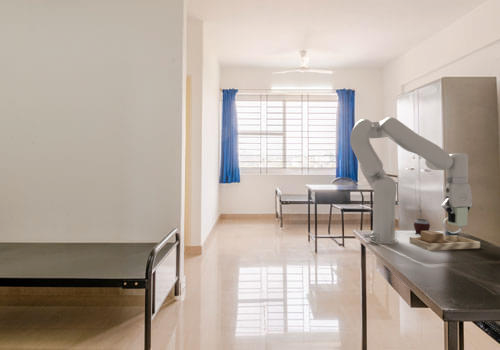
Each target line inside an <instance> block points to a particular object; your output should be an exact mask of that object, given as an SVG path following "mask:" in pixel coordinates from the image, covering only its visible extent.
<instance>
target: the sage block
mask: <svg viewBox="0 0 500 350" xmlns="http://www.w3.org/2000/svg"><path fill="white" fill-rule="evenodd" d="M451 209H452V208H451ZM468 213H469V210H468V207H455V211H454V214H455V223H453V222H449V221H448V220H447V224H448V225H452V226H455V227H456V226H457V227H459V226H463V227H465V226H468V225H469V224H468V220H469V219H468V217H469V216H468V215H469V214H468Z"/></svg>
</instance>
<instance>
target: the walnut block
mask: <svg viewBox="0 0 500 350" xmlns="http://www.w3.org/2000/svg"><path fill="white" fill-rule="evenodd" d="M444 234H445V233H443V232H439V231H436V230H429V231H421V234H420V237H421V241H423V242H426V243H429V244H434V243H443V240H444V236H445V235H444Z"/></svg>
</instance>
